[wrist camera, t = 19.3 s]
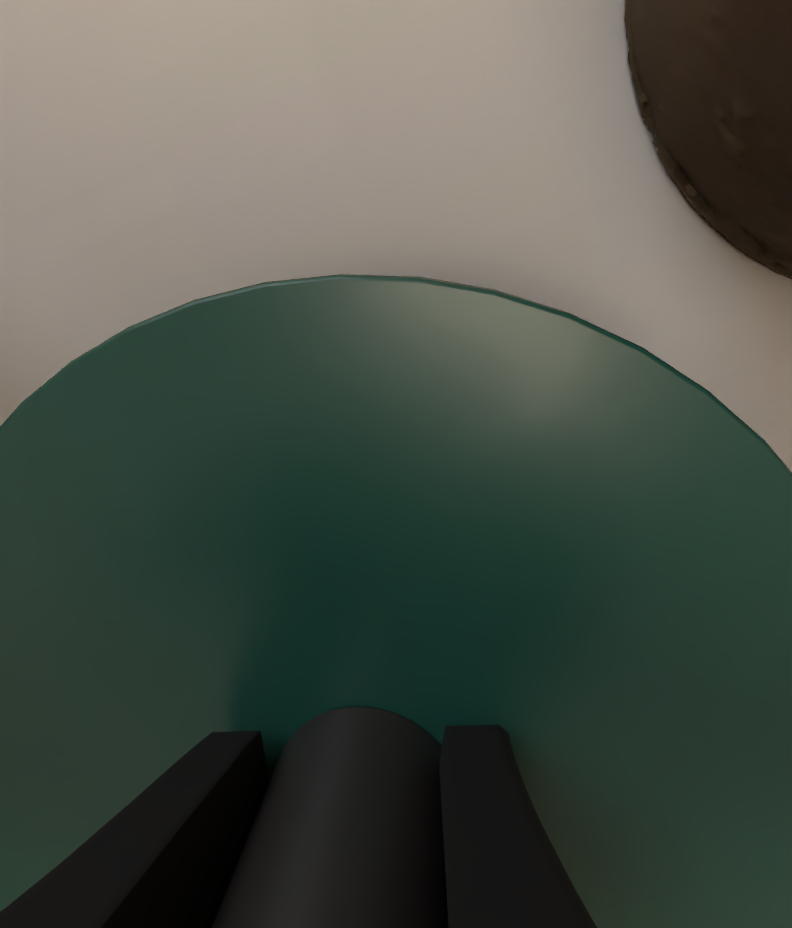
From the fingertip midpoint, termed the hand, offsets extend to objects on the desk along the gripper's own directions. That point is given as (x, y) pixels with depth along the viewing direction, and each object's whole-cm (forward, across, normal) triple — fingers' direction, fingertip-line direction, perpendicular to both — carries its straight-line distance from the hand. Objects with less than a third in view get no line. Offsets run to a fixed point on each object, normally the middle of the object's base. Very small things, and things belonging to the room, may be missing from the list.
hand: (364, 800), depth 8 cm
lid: (+1, 0, 0) cm, 1 cm away
